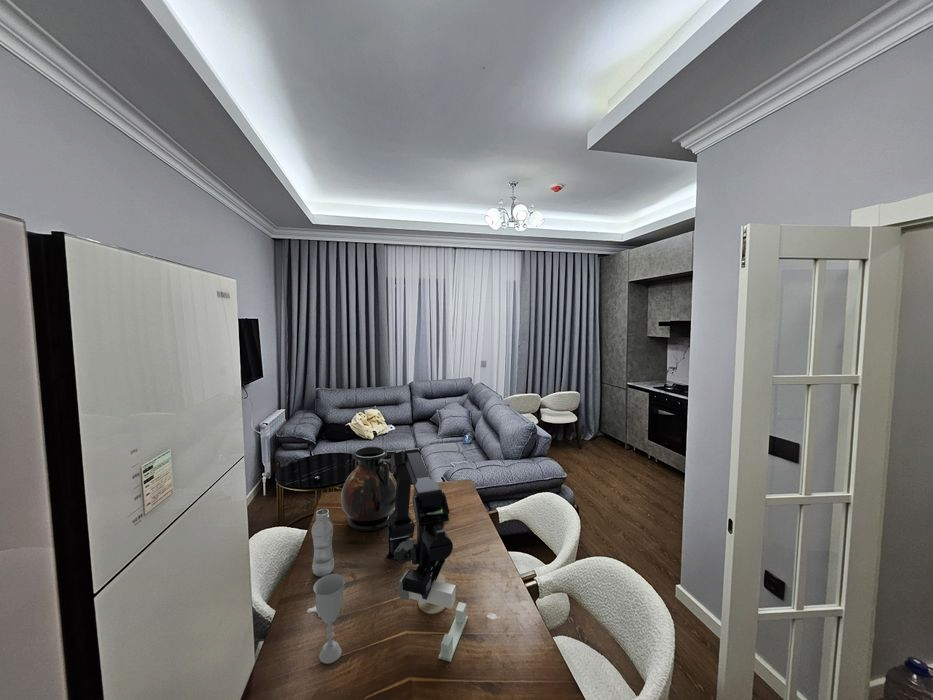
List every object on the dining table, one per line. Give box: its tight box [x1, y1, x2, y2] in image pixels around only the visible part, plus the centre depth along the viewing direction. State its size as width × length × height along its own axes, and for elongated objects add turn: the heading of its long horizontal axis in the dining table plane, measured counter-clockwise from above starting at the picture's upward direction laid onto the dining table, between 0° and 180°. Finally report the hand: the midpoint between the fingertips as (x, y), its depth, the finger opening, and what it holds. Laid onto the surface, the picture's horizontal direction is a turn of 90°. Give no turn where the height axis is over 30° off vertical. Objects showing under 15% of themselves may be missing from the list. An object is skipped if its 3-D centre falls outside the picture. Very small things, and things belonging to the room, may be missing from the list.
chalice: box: [312, 573, 346, 664], centre depth 93 cm, size 7×7×18 cm
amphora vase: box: [340, 446, 397, 532], centre depth 151 cm, size 22×22×28 cm
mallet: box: [398, 570, 457, 609], centre depth 101 cm, size 14×4×4 cm, turn 73°
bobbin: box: [417, 572, 446, 615], centre depth 111 cm, size 8×8×7 cm
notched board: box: [438, 601, 469, 663], centre depth 99 cm, size 3×14×4 cm, turn 163°
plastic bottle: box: [310, 508, 335, 578], centre depth 122 cm, size 6×7×20 cm
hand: (427, 594), depth 101 cm, fingers closed on mallet, 3 cm apart
